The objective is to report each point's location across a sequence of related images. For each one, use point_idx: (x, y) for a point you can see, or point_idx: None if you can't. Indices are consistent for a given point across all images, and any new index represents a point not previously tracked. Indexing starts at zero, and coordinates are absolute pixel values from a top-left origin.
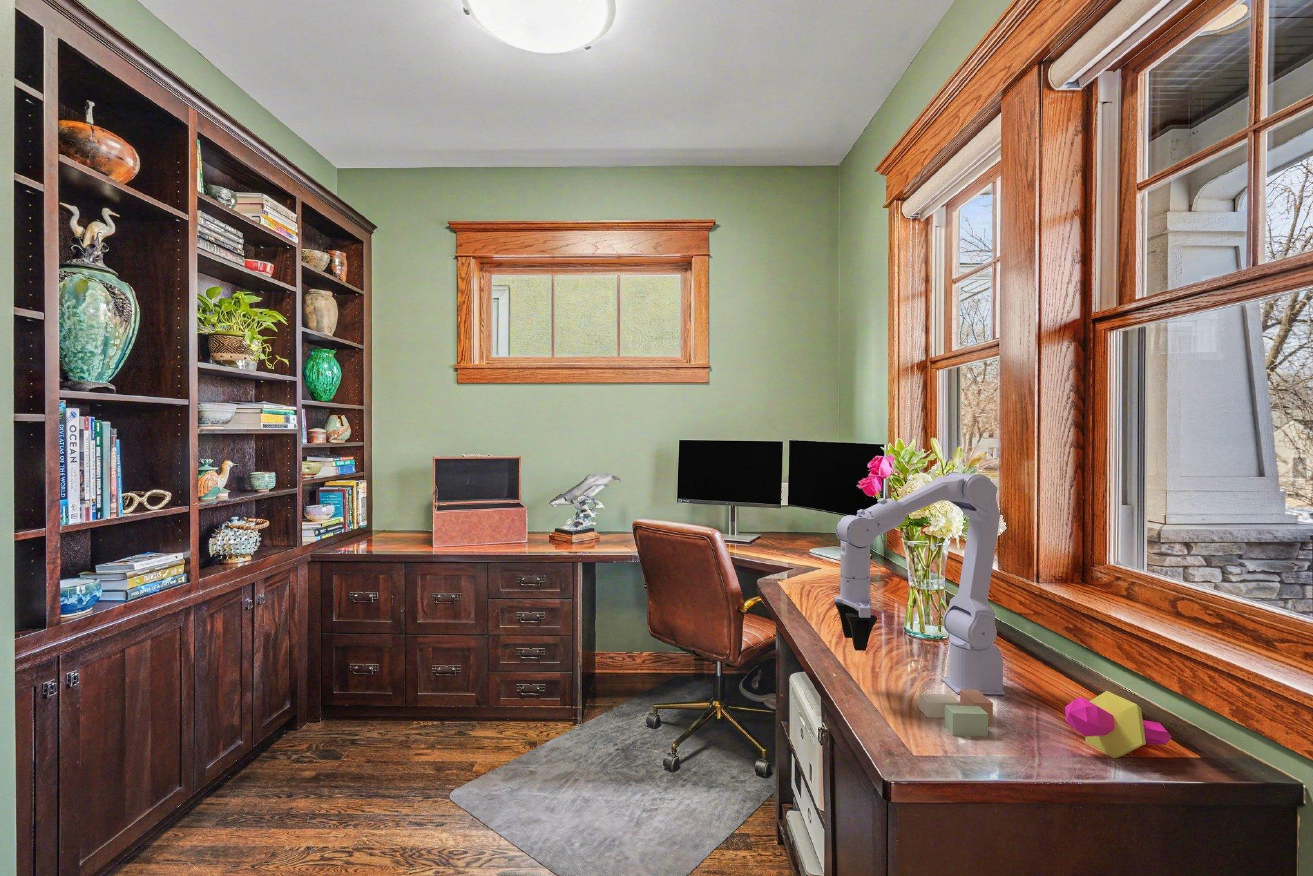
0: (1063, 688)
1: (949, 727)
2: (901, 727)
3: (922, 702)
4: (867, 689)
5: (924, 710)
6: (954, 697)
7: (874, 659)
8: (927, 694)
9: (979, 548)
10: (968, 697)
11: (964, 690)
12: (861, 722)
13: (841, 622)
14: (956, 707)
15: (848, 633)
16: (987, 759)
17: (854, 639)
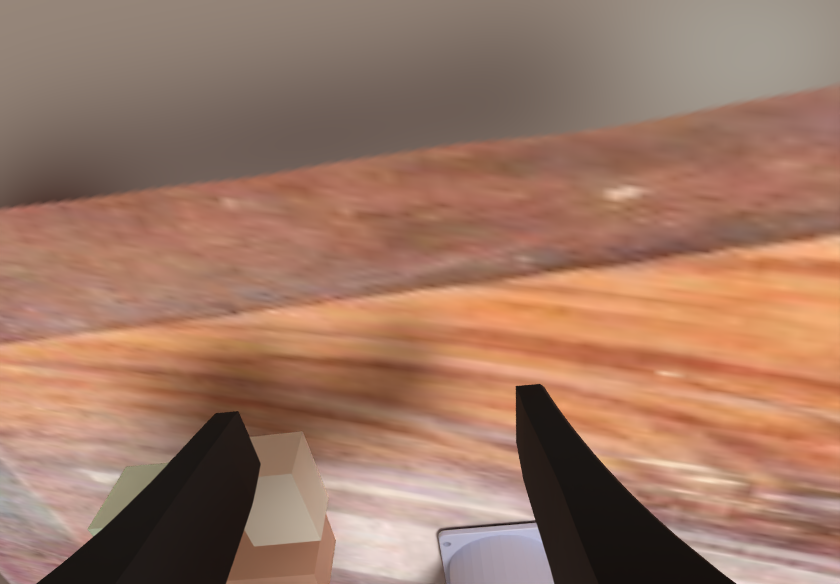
0: None
1: (138, 477)
2: (111, 360)
3: (267, 459)
4: (444, 309)
5: (256, 445)
6: (293, 542)
7: (791, 381)
8: (290, 491)
9: None
10: (254, 577)
11: (308, 581)
12: (78, 239)
13: (592, 468)
14: None
15: (524, 434)
16: (18, 500)
17: (153, 484)
